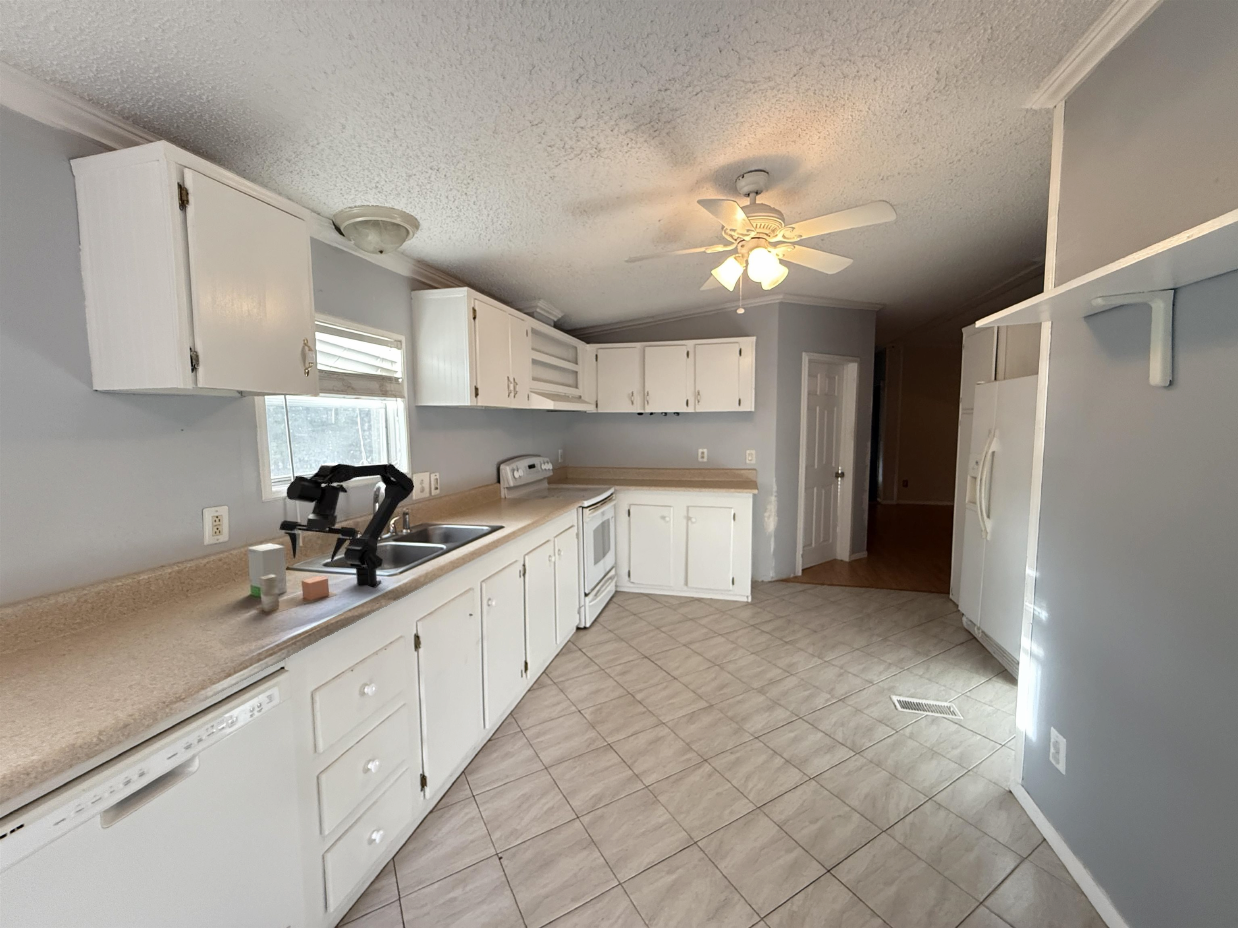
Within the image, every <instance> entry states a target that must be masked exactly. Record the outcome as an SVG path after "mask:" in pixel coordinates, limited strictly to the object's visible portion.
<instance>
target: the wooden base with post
mask: <svg viewBox="0 0 1238 928" xmlns="http://www.w3.org/2000/svg"><path fill="white" fill-rule="evenodd" d="M259 578H260V590H261V597H260V599H261V606H258V607H254V608H253V610H255V611H258V612H259V613H262V614H264V615H265V616H270V615H274V614H276V613H280V612H284V611H288V610H291V609H294V608H297V607H301V606H304V605H305V606H306V605H308V604H312V603H315V602H318V601H322V600H326V599H329V598H332V597H335V596H338V594H336V593H334V592H331V591H329V595H328V596H324V597H321V598H317V599H314V600H309V599H306V598H304V597H303V594H301V595H298V596H294V597H290V598H287V599H284V600H280V601H279V598H280V597H279V594H278V586H277V576H275V575H267V576H263V577H259Z"/></svg>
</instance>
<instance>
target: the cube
mask: <svg viewBox="0 0 1238 928" xmlns="http://www.w3.org/2000/svg"><path fill="white" fill-rule="evenodd" d="M301 591H302V595H303V597H304V598H306V599H309V600H314V599H317V598H321V597H324V596H328V595H329V592H330V588H329V578H327V577H326V576H325V577H324V576H322V575H317V576H314V577H310V578H306V579H302V580H301Z"/></svg>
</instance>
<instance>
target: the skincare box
mask: <svg viewBox="0 0 1238 928" xmlns="http://www.w3.org/2000/svg"><path fill="white" fill-rule="evenodd" d="M247 553H248V554H247V555H248V573H249V589H250V591H249V593H250V594H249V595H251V596H254V597H255V596H256V597H258V598H259V597H260V598H261V590H260V578H259V577H263V576H267V575H275V576H277V586H278V595H279V594H280V595H281V594H283V593H287V570H286V569H287V565H286V547H285V546H284V545H280V544H275V543H270V542H269V543H264V544H260V545H253V546H250V547H247Z"/></svg>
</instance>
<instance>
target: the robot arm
mask: <svg viewBox="0 0 1238 928" xmlns="http://www.w3.org/2000/svg"><path fill="white" fill-rule="evenodd" d="M375 476H379V477H380V480H381V483H383V484H384V486H385V487H384V497H383V499H382V501H381V503H380V504H379V506H378V508H376V510H375V513H374V514H373V515H372V518H371V519H370V521H369V522H368V524H367V526H366V528H365V529H364V530H363V532H362V534H361V535H359V536H358V530H357V528H356V527H347V526H341V527H340V528H338V527H336V525H337V521H338V514H336V512H337V508H338V502H339V499H340V493H343V494H345V493H346V494H347V493H348V490H347V489H346V488H345V486H344V484H341V483H346V482H349V481H352V480H353V479H356V478H365V477H375ZM334 484H336V485H334ZM322 485H324V486H322ZM414 488H415V485H414V481H413V479H412V478H411V477H409V476H408V475H407V474H406V473H404V472H403V471H401V470H400V469H398V468H397V467H396V466H395V465H394V464H393V463H389V462H379V463H374V464H373V463H372V464H370V463H369V464H360V465H359V464H357V465H351V464H345V463H323V464H321V465H320V466H319V468H318V470H317V471H316V472H315V473H314V474H313V475H312V476H310V477H309V478H308V477H306V476H302V475H295V478H294V480H293V481H291V482H290V484H289V485H288V486H287V489H286V497H287V499H288V500H290V501H297V502H302V503H307V504H312V503H314V504H313V508H312V511H311V513H310V514H309V515H308V517H307V518H306V519H307V520H306V524H302V522H300V521H295V520H294V521H293V520H281V522H280V525H279V531H284V534H285V535H288V537H289V540H290V543H291V551H292V556H293V557H292V558H293V559H297V556H298V553H299V546H300V545H299V544H300V539H301V533H299V532H300V531H302V532H311V533H312V532H313V533H322V534H332V535H339V537H338V536H337V538H336V542H335V545H334V548H333V551H332V554H331V557H330V562H334V559H335V558H336V556H337V555H338V553H339V551H340V550H341V548H342V547H343V546H344V544H346V542H347V541H349V542H348V544H347V545H346V546H345V547H344V549H345V551H344V554H343V555H344V559H345V561H346V562H347V563H348V565H349V568H353V569H355V575H356V584H357V586H358V587H363V586H366V587H371V588H372V589H374V588H376V587H377V586H378V585H380V584H381V582H382V580H379V579H378V575H377V569H378V568H380V567H382V565H383V559H382V557H380V556H379V555H377V551H378V541H379V538H380V537H381V536H382V533H383V532H384V530H385V528H386V527H387V526H388V523H389V522H390V520H391V518H392V516H393V515H394V513H395V511H396V509H397V507H398V506H399V504H400V503H401V502H404V501H405V500H407V499H408V498H409V496H410V495H411V494H412V493H413V491H414V490H415V489H414ZM357 536H358V537H357Z"/></svg>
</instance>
